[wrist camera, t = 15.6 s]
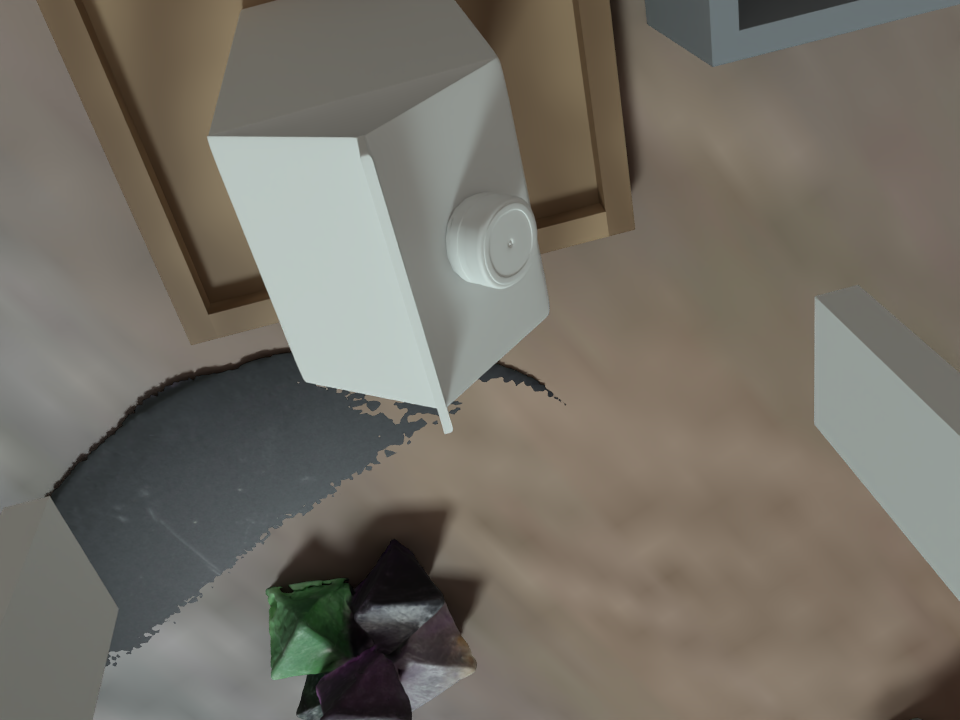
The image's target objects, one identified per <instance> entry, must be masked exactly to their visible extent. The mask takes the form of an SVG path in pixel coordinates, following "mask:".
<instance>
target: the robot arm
mask: <svg viewBox="0 0 960 720" xmlns="http://www.w3.org/2000/svg"><path fill="white" fill-rule="evenodd" d="M814 424H815V426H816V427H817V428H818V429H819V430H820V432H821V433H822V434H823V435H824V437H825V438H826V439H827V440H828V441H829V443H830V444H831V445H832V446H833V448H834V449H835V450H836V451H837V452H838V454H839V455H840V456H841V457H842V459H843V460H844V461H845V462H846V463H847V465H848V466H849V467H850V468H851V469H852V471H853V472H854V473H855V474H856V476H857V477H858V478H859V479H860V480H861V482H862V483H863V484H864V485H865V487H866V488H867V489H868V490H869V491H870V493H871V494H872V495H873V496H874V497H875V499H876V500H877V501H878V502H879V504H880V505H881V506H882V507H883V508H884V510H885V511H886V512H887V513H888V515H889V516H890V517H891V518H892V519H893V521H894V522H895V523H896V524H897V526H898V527H899V528H900V529H901V530H902V532H903V533H904V534H905V535H906V536H907V538H908V539H909V540H910V541H911V543H912V544H913V545H914V546H915V547H916V549H917V550H918V551H919V552H920V554H921V555H922V556H923V557H924V558H925V560H926V561H927V562H928V563H929V565H930V566H931V567H932V568H933V569H934V571H935V572H936V573H937V574H938V575H939V577H940V578H941V579H942V580H943V582H944V583H945V584H946V585H947V586H948V588H949V589H950V590H951V591H952V593H953V594H954V595H955V596H956V597H957V599H958V600H959V601H960V373H959V372H958V371H957V370H956V369H954V368H953V367H952V366H951V365H950V364H949V363H948V362H946V361H945V360H944V359H943V358H942V357H941V356H939V355H938V354H937V353H936V352H935V351H934V350H933V349H931V348H930V347H929V346H928V345H927V344H926V343H925V342H923V341H922V340H921V339H920V338H919V337H918V336H916V335H915V334H914V333H913V332H912V331H911V330H910V329H908V328H907V327H906V326H905V325H904V324H903V323H901V322H900V321H899V320H898V319H897V318H896V317H895V316H893V315H892V314H891V313H890V312H889V311H888V310H887V309H885V308H884V307H883V306H882V305H881V304H880V303H878V302H877V301H876V300H875V299H874V298H873V297H872V296H870V295H869V294H868V293H867V292H866V291H865V290H863V289H862V288H861V287H860V286H859V285H856V286H852V287H849V288H845V289H841V290H837V291H833V292H829V293H826V294H822V295H818V296H815V385H814ZM118 610H119V608H118V607H117V605H116V604H115V602H114V600H113V599H112V597H111V595H110V594H109V592H108V591H107V589H106V587H105V586H104V584H103V582H102V581H101V579H100V577H99V576H98V574H97V573H96V571H95V569H94V568H93V566H92V564H91V563H90V561H89V560H88V558H87V556H86V555H85V553H84V551H83V550H82V548H81V546H80V545H79V543H78V542H77V540H76V538H75V537H74V535H73V533H72V532H71V530H70V529H69V527H68V525H67V524H66V522H65V520H64V519H63V517H62V516H61V514H60V512H59V511H58V509H57V507H56V506H55V504H54V502H53V501H52V499H51V498H50V496H48V497H44V498H40V499H36V500H32V501H28V502H25V503H21V504H17V505H13V506H9V507H5V508H3V511H2V513H1V515H0V720H93V716H94V712H95V707H96V703H97V699H98V695H99V690H100V686H101V682H102V678H103V673H104V669H105V665H106V661H107V656H108V652H109V648H110V644H111V639H112V635H113V631H114V627H115V623H116V618H117V614H118Z"/></svg>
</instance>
